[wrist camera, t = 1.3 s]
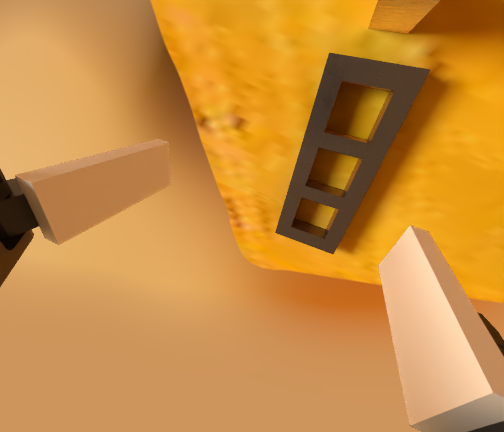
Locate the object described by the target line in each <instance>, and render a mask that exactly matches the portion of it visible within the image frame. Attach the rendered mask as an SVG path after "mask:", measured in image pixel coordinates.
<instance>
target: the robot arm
mask: <svg viewBox="0 0 504 432" xmlns="http://www.w3.org/2000/svg"><path fill="white" fill-rule="evenodd" d="M15 177H16V178H15V179H10V180H6V179H5V177H4V175H3V173H2V171H1V169H0V287H1V285H2V283H3V282H4V281H5V279H6V278H7V276H8V275H9V273H10V272H11V270H12V269H13V267H14V266H15V264H16V263H17V261H18V260H19V258H20V257H21V255H22V253H23V252H24V250H25V249H26V248H27V246H28V245H29V243H30V242H31V240H32V239H33V236H34V233H33V232H32V230H31V229H33V228H36V227H38V226H39V227H40V228H41V231H42V233H43V235H44V237H45V238H46V239H48V240H50V241H52V242H54V243H56V244H58V245H60V244H62V243H63V242H65V241H67V240H69V239H71V238H73V237H74V236H76V235H78V234H80V233H82V232H84V231H85V230H88V229H89V228H91V227H93V226H95V225H97V224H99V223H100V222H102V221H104V220H106V219H108V218H110V217H112V216H114V215H116V214H117V213H119V212H121V211H123V210H125V209H127V208H128V207H130V206H132V205H134V204H136V203H138V202H140V201H142V200H143V199H145V198H147V197H149V196H151V195H153V194H155V193H156V192H158V191H160V190H162V189H164V188H166V187H167V186H169V185H170V155H169V143H168V142H166V141H163V140H160V139H156V140H152V141H148V142H144V143H140V144H136V145H132V146H128V147H124V148H120V149H116V150H112V151H108V152H105V153H101V154H97V155H93V156H89V157H85V158H81V159H77V160H73V161H69V162H65V163H61V164H58V165H54V166H49V167H46V168H42V169H38V170H34V171H30V172H26V173H22V174H18V175H15ZM378 267H379V272H380V277H381V282H382V287H383V292H384V297H385V302H386V308H387V313H388V318H389V323H390V328H391V333H392V338H393V343H394V349H395V354H396V359H397V363H398V368H399V374H400V379H401V384H402V390H403V394H404V400H405V405H406V410H407V415H408V420H409V425H410V426H411V427H413V428H415V429H417V430H419V431H421V432H504V340H503V339H502V337H501V336H500V334H499V332H498V331H497V330H496V329H495V328H494V327H493V326H492V325H491V324H490V322H489V321H488V320H487V319H486V318H485V317H484V316H483V315H482V314H480V313H478V312H476V310H475V308H474V307H473V305H472V303H471V301H470V300H469V298H468V296H467V295H466V293H465V291H464V290H463V288H462V286H461V285H460V283H459V281H458V280H457V278H456V276H455V275H454V273H453V271H452V270H451V268H450V267H449V265H448V263H447V262H446V260H445V258H444V257H443V255H442V253H441V252H440V250H439V248H438V247H437V245H436V243H435V242H434V240H433V238H432V237H431V235H430V233H429V232H428V231H426V230H423V229H420V228H417V227H414V226H411V225H410V226H409V228H408V229H407V230H406V231H405V233H404V234H403V235H402V236H401V238H400V239H399V240H398V241H397V243H396V244H395V245H394V247H393V248H392V249H391V250H390V252H389V253H388V254H387V255H386V257H385V258H384V259H383V260H382V262H381V263H380V264H379V266H378Z"/></svg>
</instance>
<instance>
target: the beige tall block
mask: <svg viewBox="0 0 504 432" xmlns="http://www.w3.org/2000/svg"><path fill="white" fill-rule="evenodd" d="M439 1H440V0H378V2H377V5H376V8H375V11H374V13H373V16H372V19H371V22H370V25H369V28H370V29H377V30H384V31H391V32H399V33H406V34H408V33H409V32H410V31H411V30H412V29H413V28H414V27H415V26H416V25H417V24H418V23H419V22H420V20H421V19H422V18H423V17H424V16H425V15H426V14H427V13H428V12H429V11H430V10H431V9H432V8H433V7H434V6H435V5H436V4H437V3H438V2H439Z"/></svg>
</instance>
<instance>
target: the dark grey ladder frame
mask: <svg viewBox="0 0 504 432" xmlns="http://www.w3.org/2000/svg"><path fill="white" fill-rule="evenodd" d="M429 72H430V70H429V69H423V68H417V67H411V66H405V65H399V64H393V63H387V62H381V61H376V60H370V59H364V58H358V57H352V56H346V55H340V54H334V53H329V55H328V59H327V62H326V65H325V69H324V72H323V75H322V79H321V82H320V85H319V89H318V92H317V95H316V99H315V102H314V105H313V109H312V112H311V115H310V119H309V122H308V125H307V129H306V132H305V135H304V139H303V142H302V145H301V149H300V152H299V155H298V159H297V162H296V165H295V169H294V172H293V175H292V179H291V182H290V185H289V189H288V192H287V195H286V199H285V202H284V205H283V209H282V212H281V215H280V219H279V222H278V225H277V229H276V232H275V233H277V234H280V235H283V236H285V237H288V238H291V239H293V240H296V241H299V242H301V243H304V244H307V245H310V246H312V247H315V248H318V249H320V250H323V251H326V252H328V253H331V254H334V252H335V250H336V248H337V246H338V245H339V243H340V241H341V239H342V237H343V235H344V233H345V231H346V229H347V227H348V226H349V224H350V222H351V220H352V218H353V216H354V214H355V212H356V210H357V208H358V207H359V205H360V203H361V201H362V199H363V197H364V195H365V193H366V191H367V189H368V188H369V186H370V184H371V182H372V180H373V178H374V176H375V174H376V172H377V170H378V169H379V167H380V165H381V163H382V161H383V159H384V157H385V155H386V153H387V151H388V149H389V148H390V146H391V144H392V142H393V140H394V138H395V136H396V134H397V132H398V130H399V129H400V127H401V125H402V123H403V121H404V119H405V117H406V115H407V113H408V111H409V110H410V108H411V106H412V104H413V102H414V100H415V98H416V96H417V94H418V92H419V91H420V89H421V87H422V85H423V83H424V81H425V79H426V77H427V75H428V73H429ZM342 82H344V83H349V84H354V85H359V86H364V87H369V88H374V89H379V90H384V91H390V92H389V94H388V96H387V98H386V100H385V103H384V105H383V107H382V109H381V111H380V113H379V116H378V118H377V120H376V122H375V124H374V126H373V129H372V131H371V133H370V135H369V137H368V140H366V139H362V138H358V137H354V136H350V135H346V134H342V133H338V132H334V131H330V130H325V129H326V126H327V123H328V120H329V117H330V115H331V112H332V109H333V106H334V103H335V100H336V97H337V94H338V91H339V89H340V86H341V83H342ZM319 148H323V149H327V150H330V151H334V152H338V153H342V154H345V155H349V156H353V157H356V158H359V159H358V161H357V163H356V166H355V168H354V170H353V172H352V174H351V176H350V179H349V181H348V183H347V185H346V187H345V189H344V190H341V189H338V188H335V187H331V186H328V185H325V184H322V183H318V182H315V181H312V180H308V178H309V175H310V172H311V169H312V167H313V164H314V161H315V158H316V155H317V152H318V149H319ZM301 198H305V199H308V200H311V201H314V202H317V203H320V204H324V205H327V206H330V207H333V208H336V209H335V211H334V213H333V216H332V218H331V220H330V222H329V224H328V226H327V229H323V228H320V227H317V226H314V225H312V224H309V223H306V222H303V221H300V220H297V219H294V218H295V216H296V213H297V210H298V207H299V204H300V201H301Z"/></svg>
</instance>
